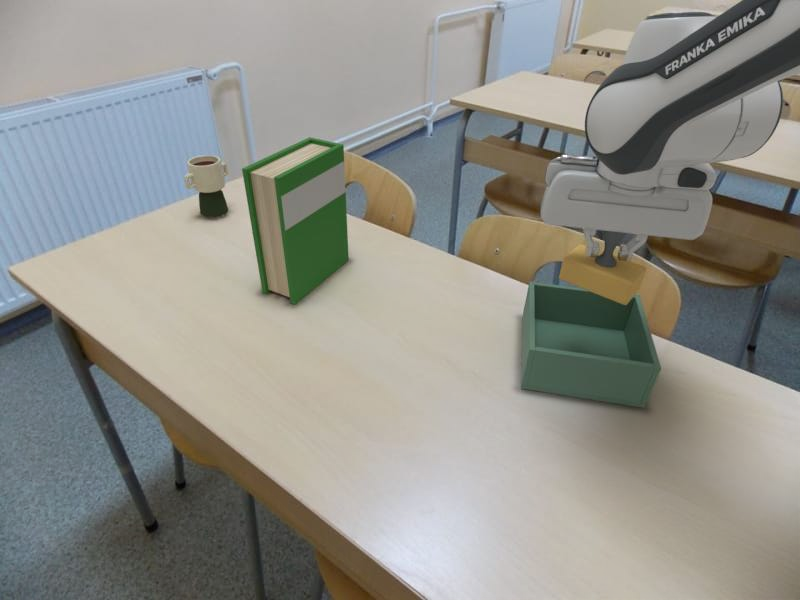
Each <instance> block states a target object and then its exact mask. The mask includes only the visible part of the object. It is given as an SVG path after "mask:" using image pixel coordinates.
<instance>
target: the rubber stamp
mask: <svg viewBox="0 0 800 600" xmlns="http://www.w3.org/2000/svg"><path fill="white" fill-rule="evenodd" d="M627 234H628V233H621V232H612V231H603V230H602V235H603V241H604V249H603V251H602V250H599V252H598V257H597V258H595V257H586V253H585V252H586V246H587V245H586V244H582V243H581V244H578V245H577V246H576V247H575V248H573V249H572V250H571V251H570V252H569V253H567V255H566V256H564V257H563V259H562V262H561V267H560V271H559V276H558V280H560V281H563V282H565V283H568V284H570V285H573V286H574V287H577V288H583V289H585V290H588V291H590V292H593V293H595V294H598V295H600V296H603V297H605V298H608V299H610V300H613V301H615V302H618V303H620V304H623V305H627V304H628V303H629V301H630V300H631V299H632V298H633V297H634V295H637V293H638V292H639V291H640V289H641V286H642V283H643V281H644V278H645V275H646V272H647V267H646V266H645V265H641V264H639V263H636V262H633V261H631V260H630V261H621V260H618V256H617V255H614V252H615V250H616V248H617V246H618V245H620V244H619V243H621V241H622V240H623V239H624V238H625V237H626V236H627Z"/></svg>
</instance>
